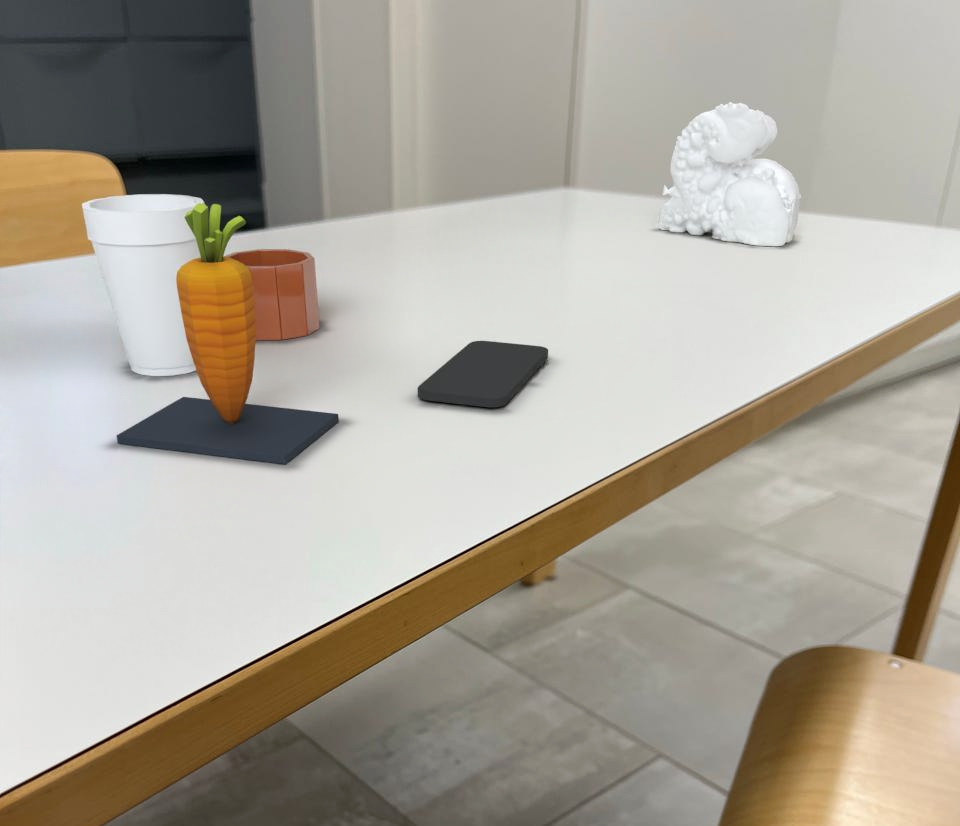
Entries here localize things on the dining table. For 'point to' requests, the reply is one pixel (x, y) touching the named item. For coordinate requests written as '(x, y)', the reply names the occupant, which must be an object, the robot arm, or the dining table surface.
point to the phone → (484, 374)
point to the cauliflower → (730, 180)
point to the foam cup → (145, 274)
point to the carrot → (218, 313)
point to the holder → (282, 292)
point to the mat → (230, 430)
